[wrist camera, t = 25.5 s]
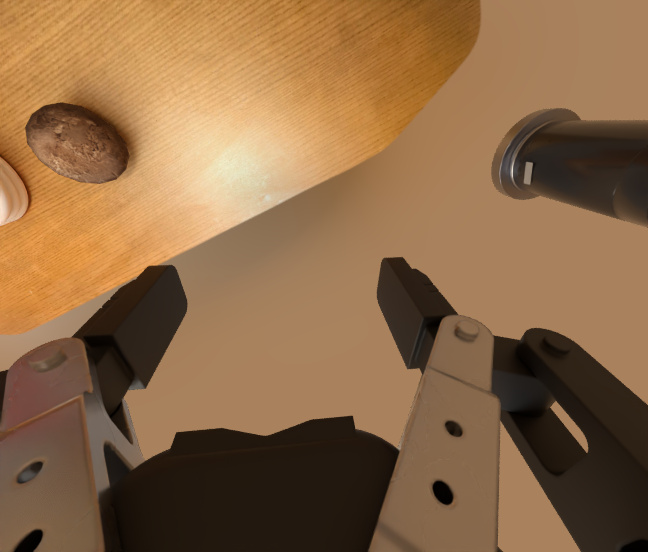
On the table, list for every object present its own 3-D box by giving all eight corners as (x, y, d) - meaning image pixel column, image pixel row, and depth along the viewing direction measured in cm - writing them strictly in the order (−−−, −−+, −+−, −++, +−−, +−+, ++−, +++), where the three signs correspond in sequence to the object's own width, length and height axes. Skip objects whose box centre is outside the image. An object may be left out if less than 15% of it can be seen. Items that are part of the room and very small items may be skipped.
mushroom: (63, 197, 29) (36, 180, 24) (30, 125, 28) (-5, 89, 22) (143, 186, 33) (136, 169, 28) (118, 122, 32) (105, 91, 26)
